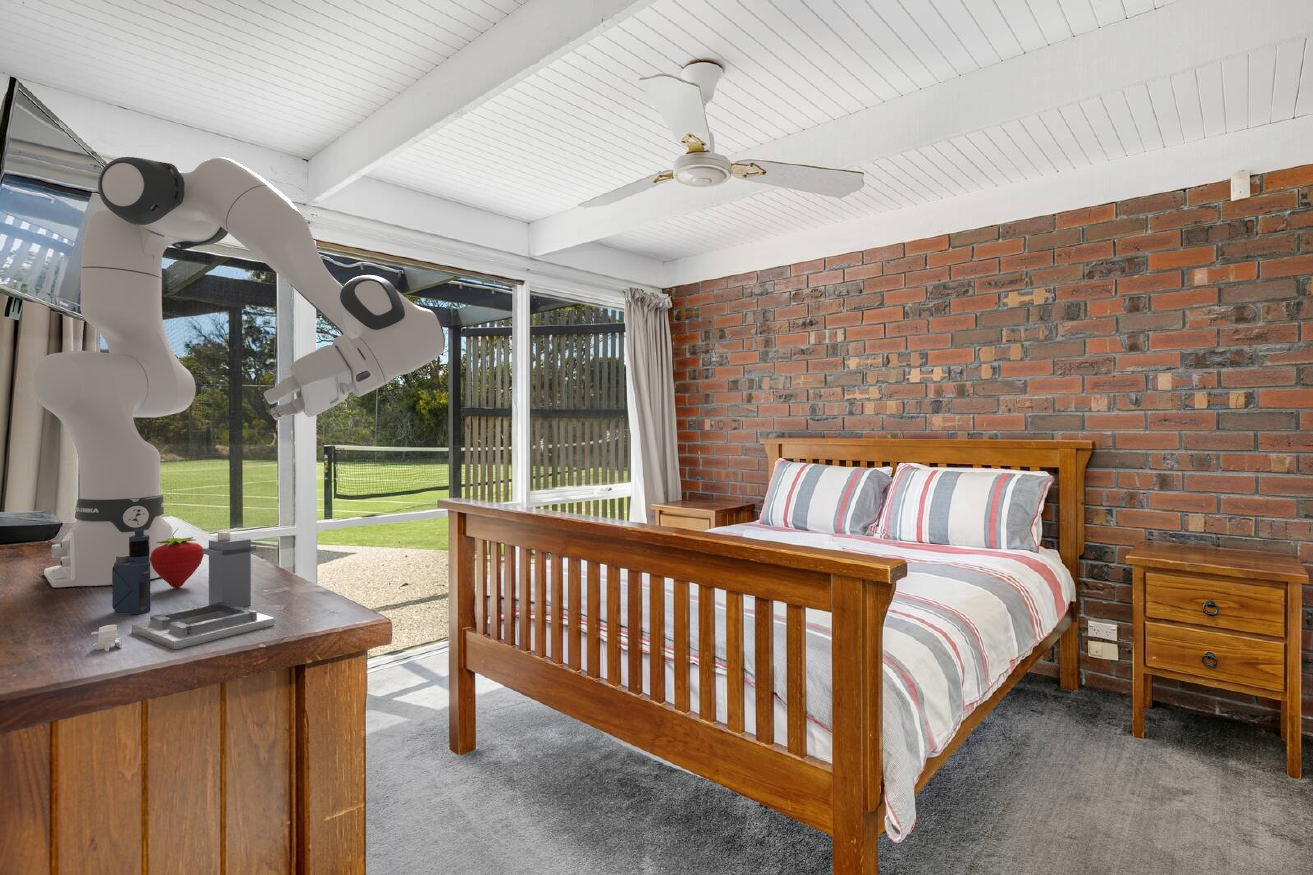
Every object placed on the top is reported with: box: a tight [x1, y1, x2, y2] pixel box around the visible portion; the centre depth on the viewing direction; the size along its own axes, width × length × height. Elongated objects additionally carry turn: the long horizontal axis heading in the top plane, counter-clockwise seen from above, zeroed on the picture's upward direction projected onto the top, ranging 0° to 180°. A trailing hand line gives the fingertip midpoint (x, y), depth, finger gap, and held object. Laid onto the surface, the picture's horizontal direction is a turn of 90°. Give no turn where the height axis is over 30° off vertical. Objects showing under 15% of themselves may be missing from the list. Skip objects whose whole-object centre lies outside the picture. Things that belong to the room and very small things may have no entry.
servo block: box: [203, 531, 257, 608], centre depth 102 cm, size 4×6×11 cm
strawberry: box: [150, 528, 205, 589], centre depth 112 cm, size 6×8×10 cm
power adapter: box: [90, 624, 124, 652], centre depth 82 cm, size 3×3×3 cm
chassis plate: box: [131, 601, 275, 651], centre depth 91 cm, size 12×12×2 cm
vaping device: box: [111, 529, 151, 615], centre depth 98 cm, size 3×5×12 cm, turn 79°
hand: (269, 407), depth 105 cm, fingers open, 8 cm apart
